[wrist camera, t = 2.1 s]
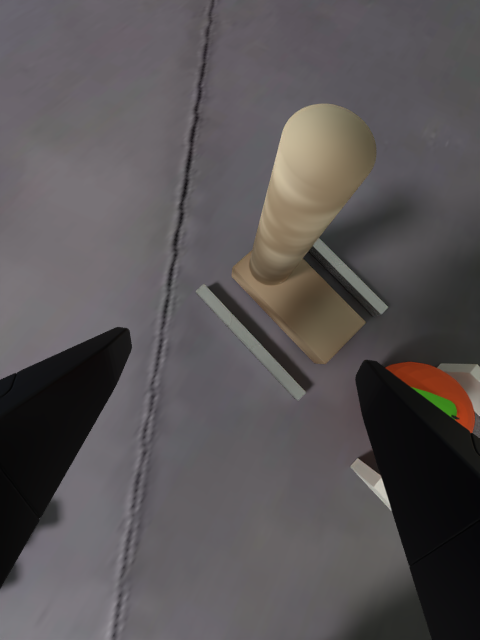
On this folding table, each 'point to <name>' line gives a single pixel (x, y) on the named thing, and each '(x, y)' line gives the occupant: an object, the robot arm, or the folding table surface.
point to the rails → (258, 350)
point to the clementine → (437, 390)
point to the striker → (307, 226)
